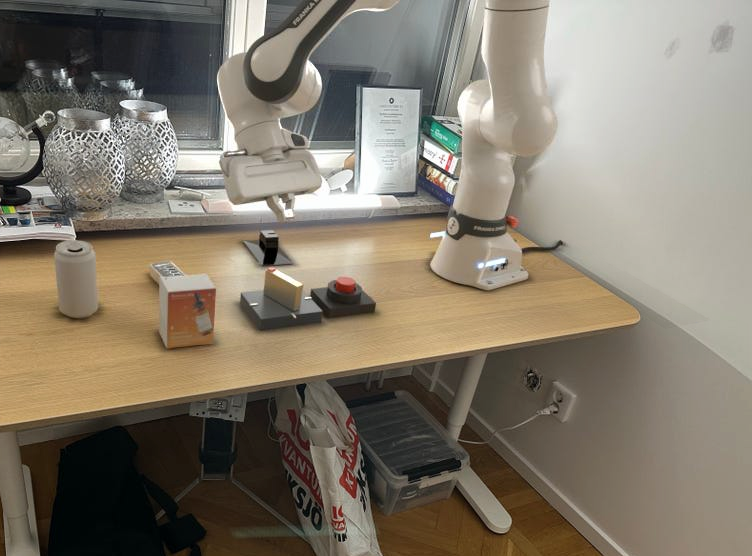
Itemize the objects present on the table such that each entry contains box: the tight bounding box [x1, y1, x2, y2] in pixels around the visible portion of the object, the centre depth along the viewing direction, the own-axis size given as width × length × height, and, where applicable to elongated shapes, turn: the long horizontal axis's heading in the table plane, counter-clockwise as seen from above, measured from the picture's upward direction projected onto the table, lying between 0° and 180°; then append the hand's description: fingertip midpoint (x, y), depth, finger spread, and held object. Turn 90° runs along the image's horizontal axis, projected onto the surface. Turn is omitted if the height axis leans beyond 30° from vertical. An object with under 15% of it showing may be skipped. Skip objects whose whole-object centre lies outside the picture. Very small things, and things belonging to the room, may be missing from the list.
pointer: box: [263, 266, 304, 311], centre depth 118 cm, size 8×2×5 cm, turn 47°
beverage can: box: [53, 239, 99, 319], centre depth 110 cm, size 6×6×12 cm
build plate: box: [243, 229, 294, 267], centre depth 141 cm, size 12×7×5 cm, turn 23°
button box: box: [309, 279, 377, 320], centre depth 125 cm, size 10×8×4 cm
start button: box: [335, 276, 356, 293], centre depth 124 cm, size 4×4×2 cm
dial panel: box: [239, 289, 324, 332], centre depth 120 cm, size 12×12×3 cm
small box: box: [158, 273, 217, 349], centre depth 107 cm, size 8×6×10 cm
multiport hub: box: [149, 260, 187, 285], centre depth 124 cm, size 4×11×2 cm, turn 35°
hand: (287, 220), depth 119 cm, fingers closed
